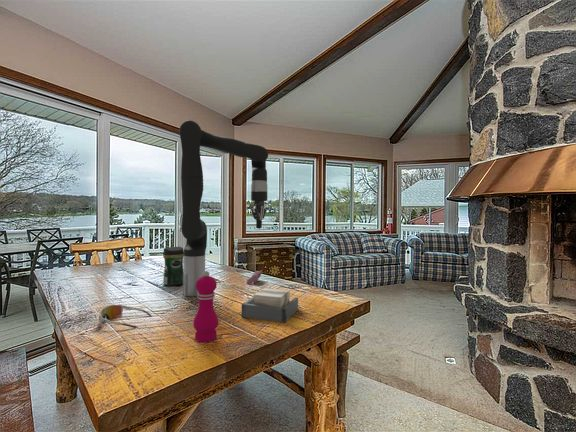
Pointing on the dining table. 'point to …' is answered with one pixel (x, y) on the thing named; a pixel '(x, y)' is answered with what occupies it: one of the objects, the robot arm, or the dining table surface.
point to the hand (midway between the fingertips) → (258, 228)
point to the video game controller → (254, 277)
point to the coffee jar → (173, 266)
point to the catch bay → (269, 311)
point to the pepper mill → (206, 309)
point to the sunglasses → (115, 314)
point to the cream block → (272, 297)
